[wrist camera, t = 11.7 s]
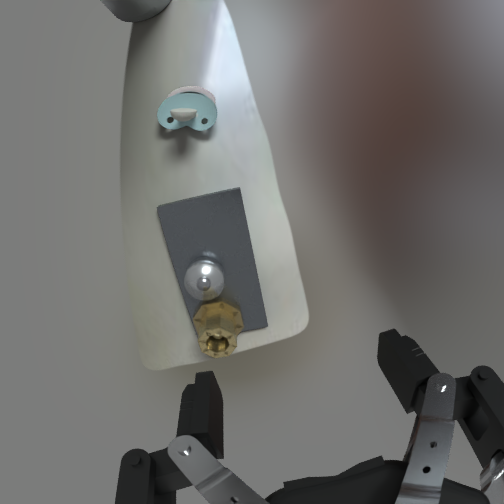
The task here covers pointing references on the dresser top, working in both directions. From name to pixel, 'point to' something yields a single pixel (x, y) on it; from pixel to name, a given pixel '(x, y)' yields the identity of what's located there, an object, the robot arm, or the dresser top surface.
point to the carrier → (214, 253)
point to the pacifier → (188, 108)
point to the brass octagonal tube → (218, 326)
